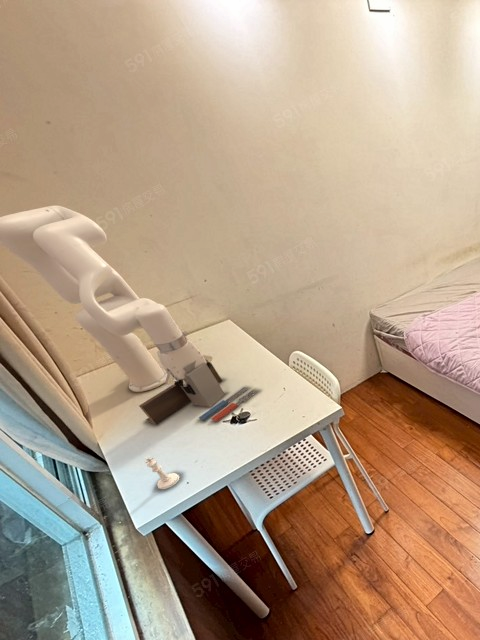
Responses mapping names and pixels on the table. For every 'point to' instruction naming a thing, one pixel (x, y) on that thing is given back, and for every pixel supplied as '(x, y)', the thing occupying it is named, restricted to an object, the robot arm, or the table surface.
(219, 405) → the knife
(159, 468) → the chess piece
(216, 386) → the perfume bottle
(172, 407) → the shelf
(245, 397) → the fork
